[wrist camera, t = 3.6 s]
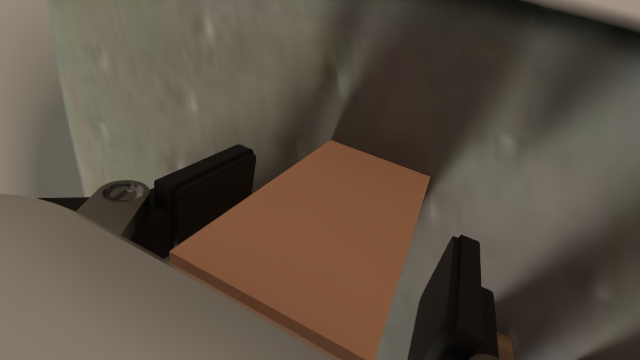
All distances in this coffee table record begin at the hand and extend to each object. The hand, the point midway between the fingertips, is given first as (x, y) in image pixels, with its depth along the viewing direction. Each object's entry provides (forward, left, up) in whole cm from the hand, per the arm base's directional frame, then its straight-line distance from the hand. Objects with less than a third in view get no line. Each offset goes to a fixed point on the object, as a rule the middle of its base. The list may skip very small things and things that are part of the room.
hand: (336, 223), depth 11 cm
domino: (0, 0, -5) cm, 5 cm away
